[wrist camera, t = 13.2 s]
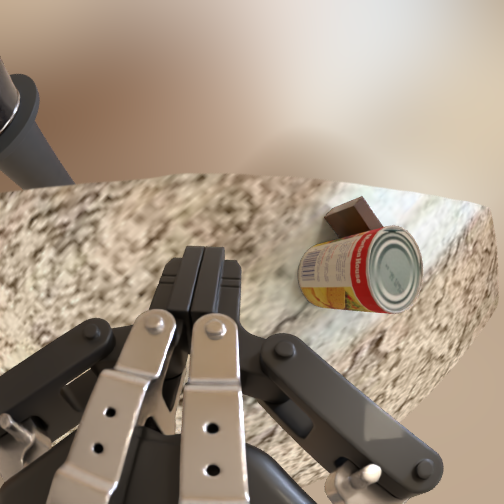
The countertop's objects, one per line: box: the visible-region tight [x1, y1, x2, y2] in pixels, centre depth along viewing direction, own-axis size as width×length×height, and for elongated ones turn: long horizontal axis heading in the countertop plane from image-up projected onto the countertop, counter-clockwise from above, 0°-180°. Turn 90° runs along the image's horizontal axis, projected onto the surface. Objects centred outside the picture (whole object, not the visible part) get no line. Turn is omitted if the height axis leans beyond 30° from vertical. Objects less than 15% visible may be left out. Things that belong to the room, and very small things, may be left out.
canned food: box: [298, 225, 423, 314], centre depth 29 cm, size 8×8×12 cm
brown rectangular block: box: [324, 196, 383, 238], centre depth 33 cm, size 10×2×6 cm, turn 43°
